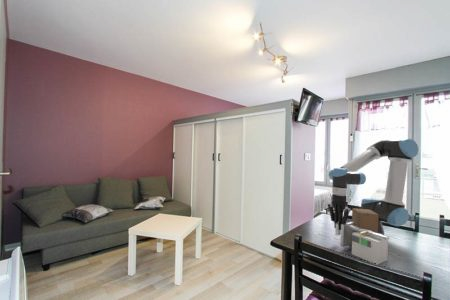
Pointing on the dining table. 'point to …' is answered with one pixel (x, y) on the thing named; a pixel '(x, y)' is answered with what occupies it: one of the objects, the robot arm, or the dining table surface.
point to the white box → (369, 248)
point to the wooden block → (365, 219)
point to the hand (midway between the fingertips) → (337, 234)
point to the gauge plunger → (351, 228)
